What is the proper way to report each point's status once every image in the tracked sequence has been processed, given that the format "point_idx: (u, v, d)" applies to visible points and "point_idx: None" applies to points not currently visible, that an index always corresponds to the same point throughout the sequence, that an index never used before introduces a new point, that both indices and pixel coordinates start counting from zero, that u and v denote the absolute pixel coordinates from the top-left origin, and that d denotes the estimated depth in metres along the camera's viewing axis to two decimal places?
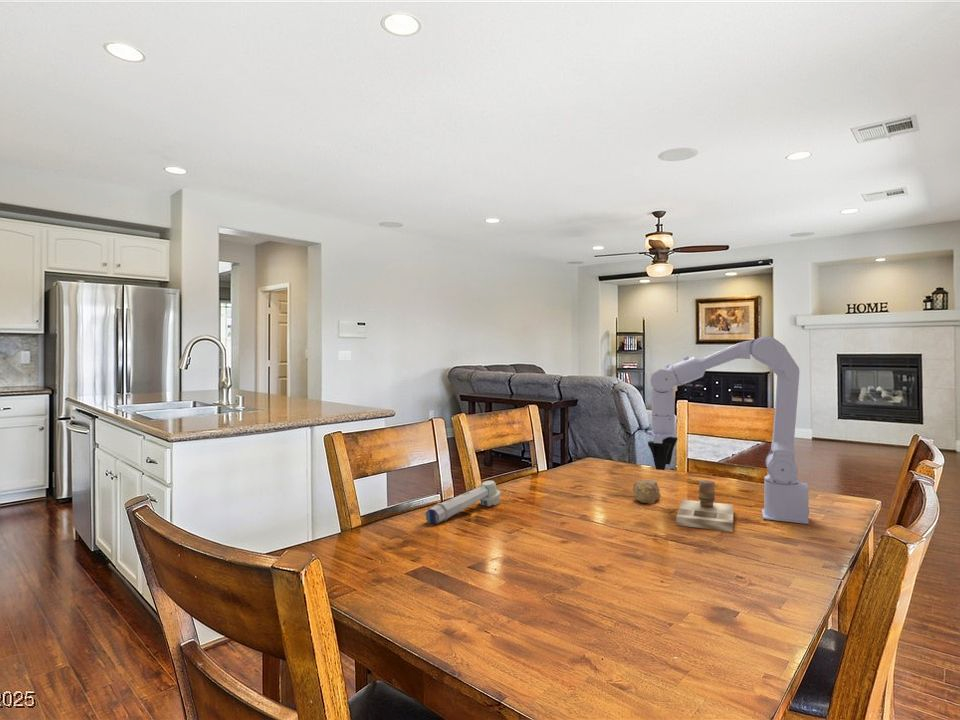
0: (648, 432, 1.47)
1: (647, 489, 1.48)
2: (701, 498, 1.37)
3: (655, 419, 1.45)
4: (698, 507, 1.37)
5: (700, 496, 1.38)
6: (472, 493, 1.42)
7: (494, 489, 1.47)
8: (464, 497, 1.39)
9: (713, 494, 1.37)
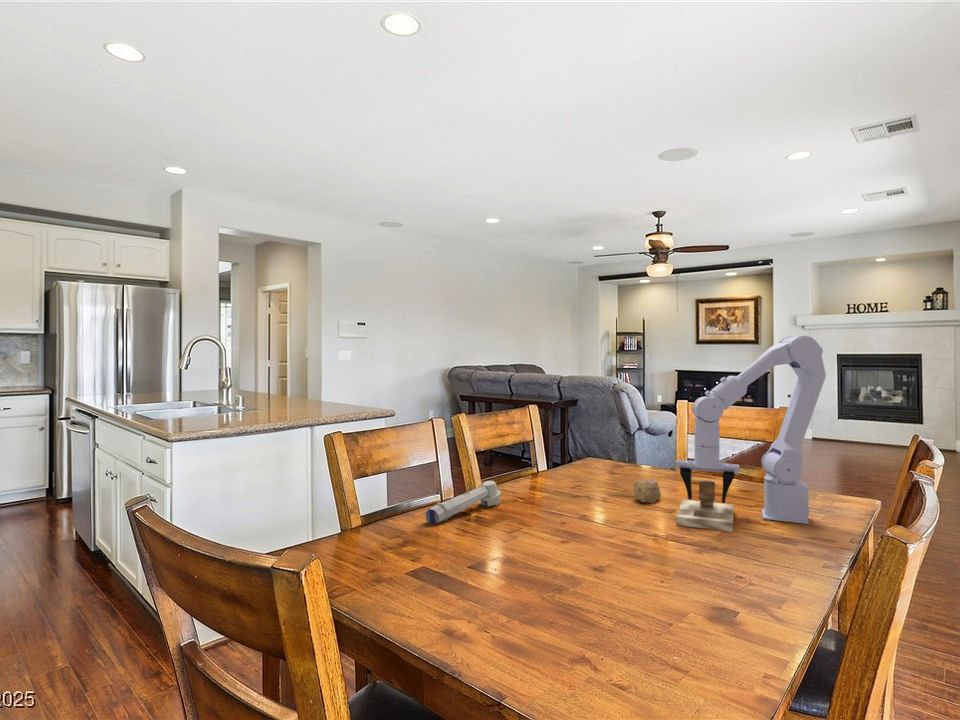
0: None
1: (648, 489, 1.49)
2: (701, 498, 1.37)
3: None
4: (698, 507, 1.37)
5: (700, 496, 1.38)
6: (472, 493, 1.41)
7: (494, 489, 1.47)
8: (464, 497, 1.39)
9: (713, 494, 1.37)
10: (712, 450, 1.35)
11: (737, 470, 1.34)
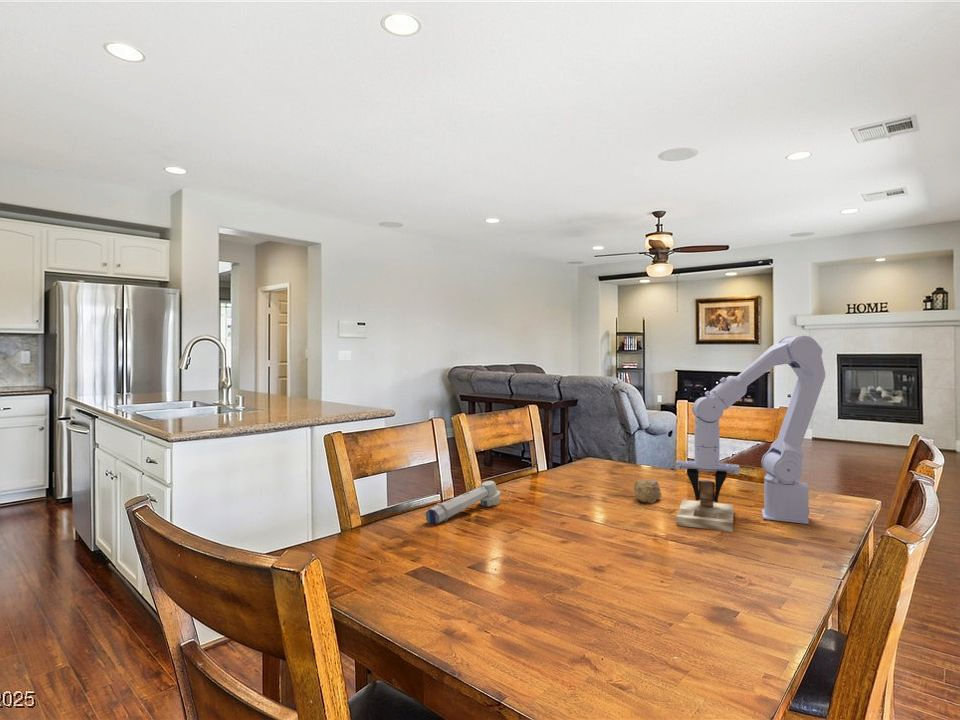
0: None
1: (648, 489, 1.49)
2: (701, 498, 1.37)
3: None
4: (698, 507, 1.37)
5: (700, 496, 1.38)
6: (472, 493, 1.41)
7: (494, 489, 1.47)
8: (464, 497, 1.39)
9: (713, 494, 1.37)
10: (712, 450, 1.35)
11: (737, 470, 1.34)
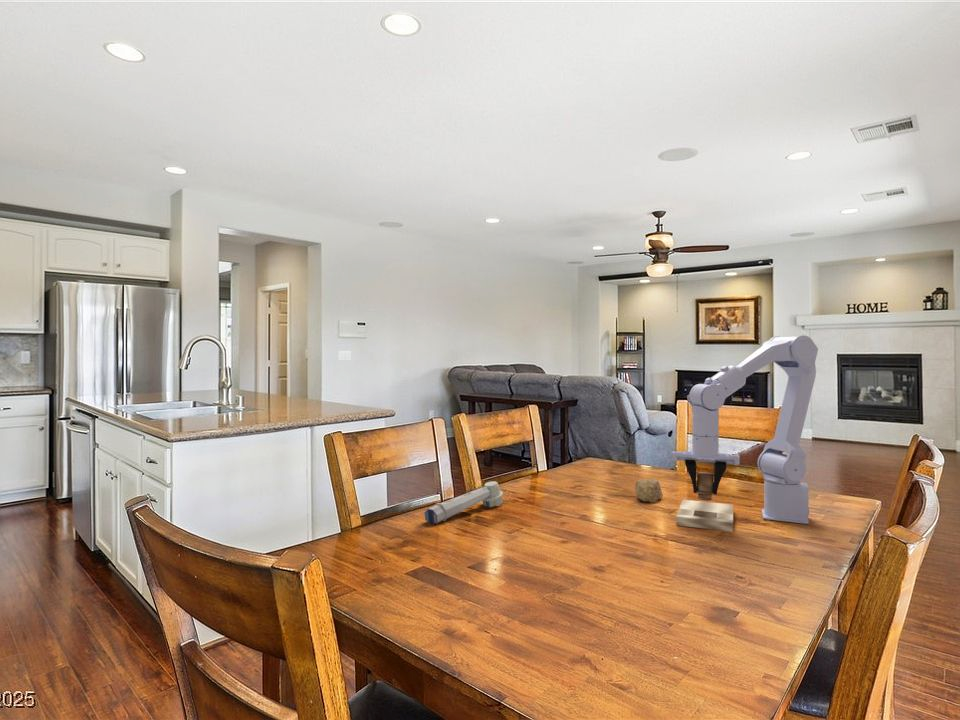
0: None
1: (649, 488, 1.49)
2: (700, 490, 1.30)
3: None
4: (698, 507, 1.37)
5: (698, 488, 1.31)
6: (473, 494, 1.41)
7: (497, 490, 1.46)
8: (464, 498, 1.38)
9: (712, 486, 1.30)
10: (712, 440, 1.28)
11: (737, 460, 1.28)
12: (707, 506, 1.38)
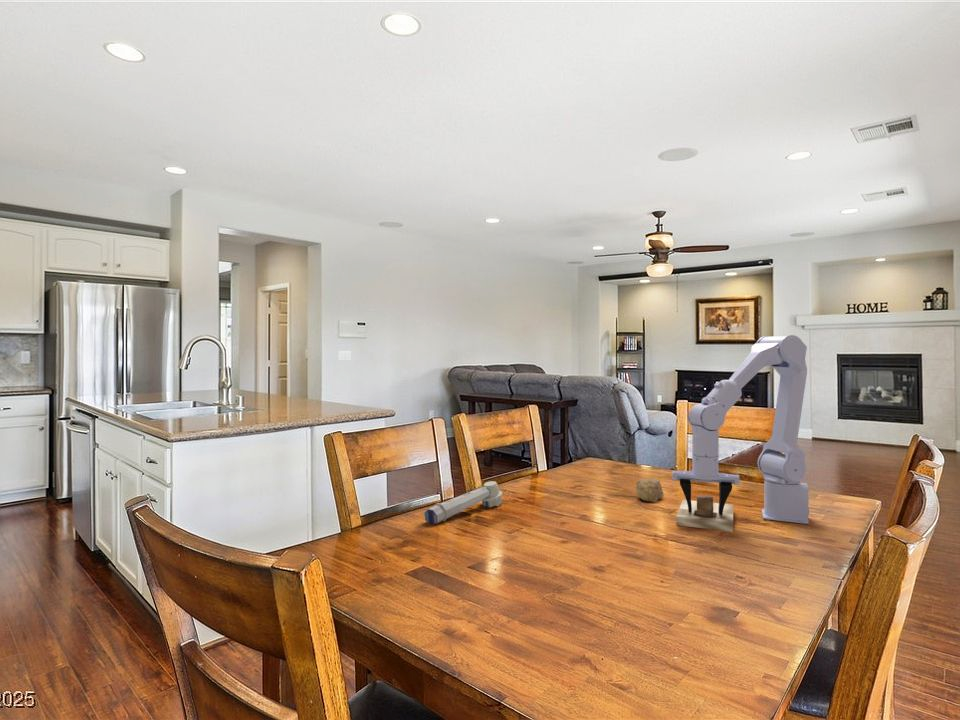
0: None
1: (650, 488, 1.50)
2: (700, 514, 1.30)
3: None
4: None
5: (698, 513, 1.31)
6: (473, 494, 1.41)
7: (496, 490, 1.46)
8: (464, 498, 1.38)
9: (712, 510, 1.30)
10: (712, 460, 1.28)
11: (737, 480, 1.28)
12: None
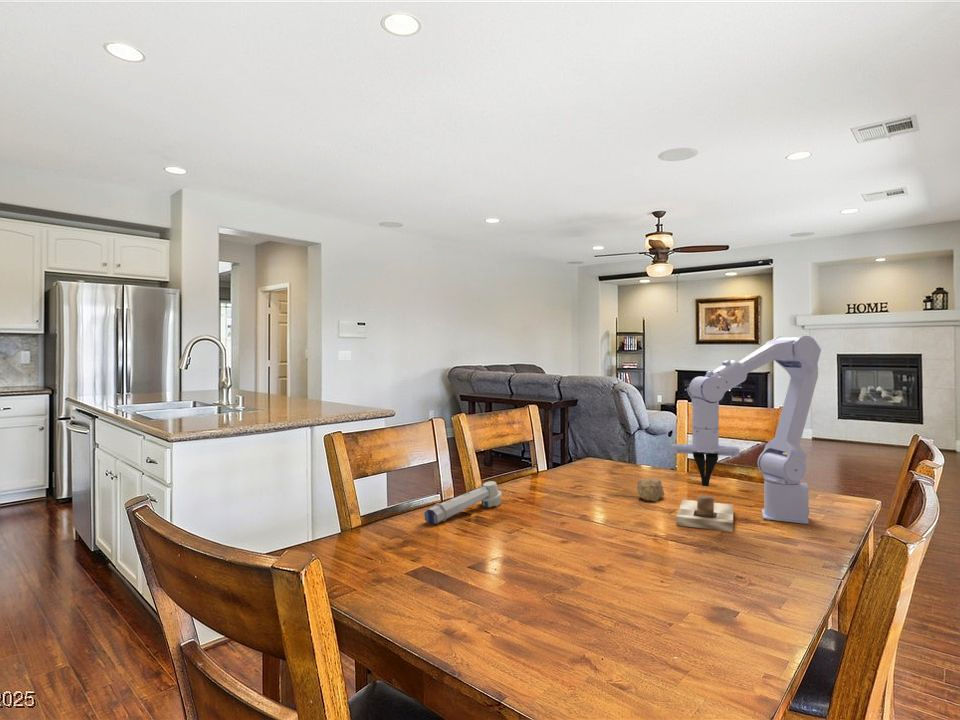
0: None
1: (651, 487, 1.50)
2: (700, 514, 1.30)
3: None
4: None
5: (698, 512, 1.31)
6: (472, 494, 1.41)
7: (495, 490, 1.46)
8: (464, 498, 1.38)
9: (713, 510, 1.30)
10: (712, 432, 1.28)
11: (737, 452, 1.28)
12: None
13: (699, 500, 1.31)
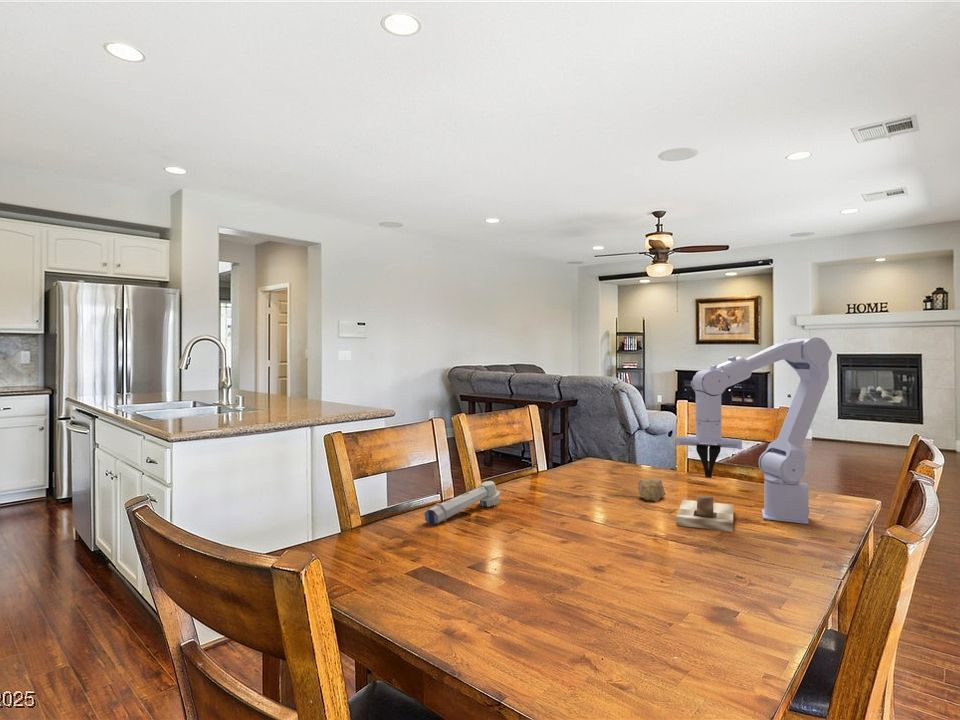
0: None
1: (652, 487, 1.51)
2: (700, 514, 1.30)
3: None
4: None
5: (698, 512, 1.31)
6: (471, 494, 1.41)
7: (493, 490, 1.46)
8: (463, 498, 1.38)
9: (712, 510, 1.30)
10: (714, 424, 1.31)
11: (740, 445, 1.30)
12: None
13: (699, 500, 1.31)
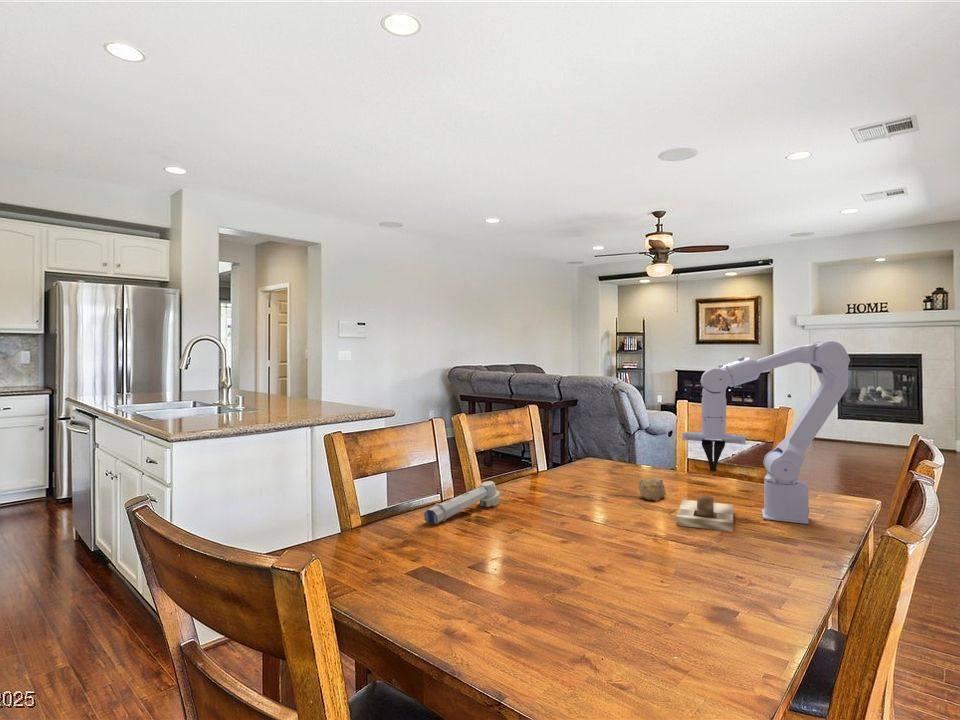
0: None
1: (653, 486, 1.51)
2: (700, 514, 1.30)
3: None
4: None
5: (698, 512, 1.31)
6: (471, 494, 1.41)
7: (493, 490, 1.46)
8: (463, 498, 1.38)
9: (713, 510, 1.30)
10: (719, 421, 1.37)
11: (743, 440, 1.36)
12: None
13: (699, 500, 1.31)
